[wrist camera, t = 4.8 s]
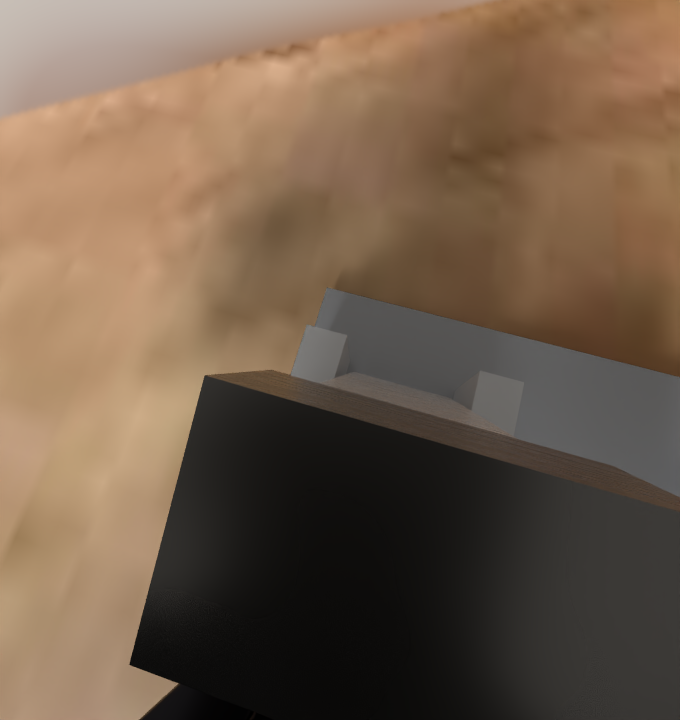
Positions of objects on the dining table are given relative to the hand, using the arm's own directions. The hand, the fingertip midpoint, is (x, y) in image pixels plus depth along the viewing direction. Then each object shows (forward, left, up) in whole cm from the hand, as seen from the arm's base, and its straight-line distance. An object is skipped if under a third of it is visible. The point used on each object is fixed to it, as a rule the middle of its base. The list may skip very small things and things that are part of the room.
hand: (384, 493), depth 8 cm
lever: (+2, -1, -4) cm, 5 cm away
